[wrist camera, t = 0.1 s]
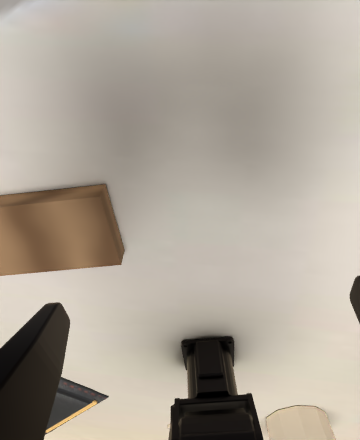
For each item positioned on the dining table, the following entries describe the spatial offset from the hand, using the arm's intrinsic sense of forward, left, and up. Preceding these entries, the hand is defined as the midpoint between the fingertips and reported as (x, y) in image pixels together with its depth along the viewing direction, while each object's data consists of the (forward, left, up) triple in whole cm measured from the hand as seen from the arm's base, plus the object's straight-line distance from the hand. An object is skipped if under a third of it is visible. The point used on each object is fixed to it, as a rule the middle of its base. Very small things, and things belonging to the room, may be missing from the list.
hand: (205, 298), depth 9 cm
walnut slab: (-6, +13, -15) cm, 21 cm away
